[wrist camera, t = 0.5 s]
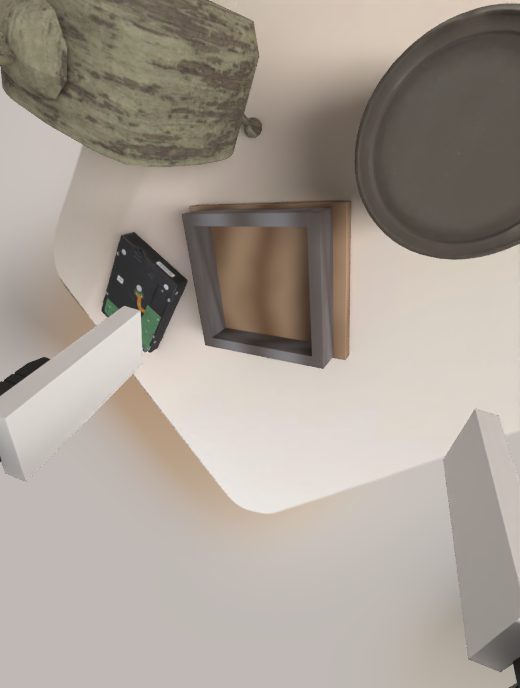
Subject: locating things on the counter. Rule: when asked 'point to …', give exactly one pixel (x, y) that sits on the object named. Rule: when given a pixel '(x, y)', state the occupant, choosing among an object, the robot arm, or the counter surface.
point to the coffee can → (448, 139)
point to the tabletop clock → (133, 75)
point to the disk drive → (144, 288)
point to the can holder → (273, 278)
